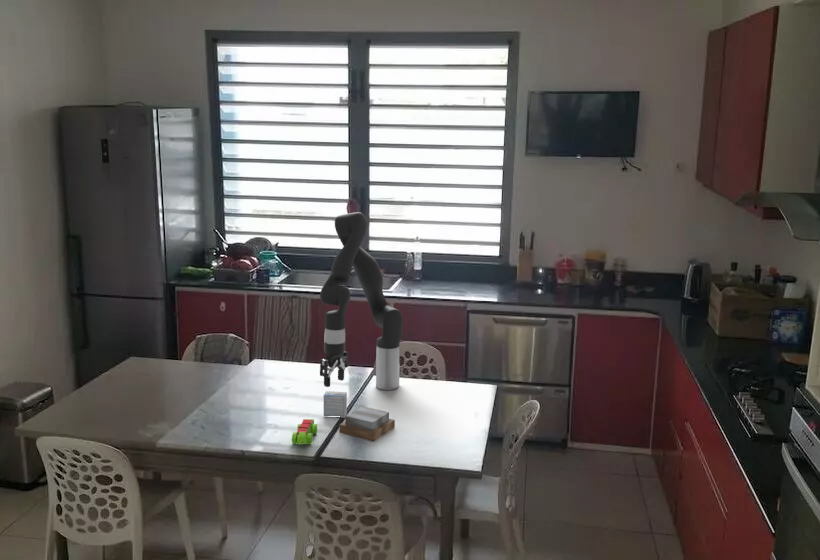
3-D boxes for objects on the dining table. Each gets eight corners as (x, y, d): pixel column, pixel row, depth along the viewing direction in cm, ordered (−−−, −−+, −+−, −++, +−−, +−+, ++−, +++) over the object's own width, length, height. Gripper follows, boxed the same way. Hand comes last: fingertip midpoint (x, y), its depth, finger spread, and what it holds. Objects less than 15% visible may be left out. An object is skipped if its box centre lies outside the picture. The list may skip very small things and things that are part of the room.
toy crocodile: (301, 427, 271) (301, 410, 269) (320, 427, 270) (320, 411, 269) (288, 450, 251) (288, 433, 250) (309, 451, 251) (308, 434, 250)
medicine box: (346, 414, 283) (347, 391, 281) (344, 418, 279) (344, 396, 277) (325, 412, 284) (325, 390, 282) (323, 417, 279) (323, 394, 278)
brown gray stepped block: (361, 419, 278) (361, 403, 277) (394, 427, 271) (394, 411, 270) (339, 432, 266) (339, 416, 265) (373, 441, 259) (373, 425, 258)
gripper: (337, 334, 283) (336, 376, 287) (314, 342, 271) (313, 386, 274) (354, 337, 280) (353, 380, 283) (331, 346, 268) (331, 390, 271)
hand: (334, 383), depth 279 cm, fingers open, 8 cm apart
